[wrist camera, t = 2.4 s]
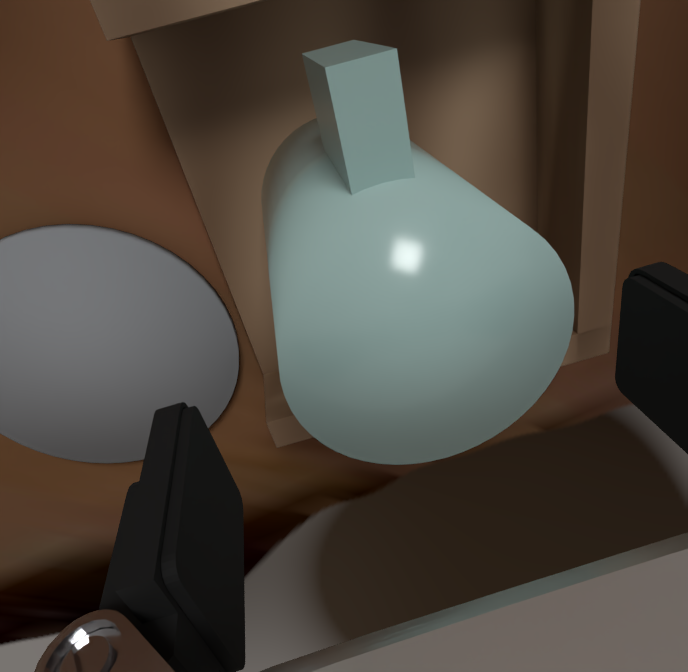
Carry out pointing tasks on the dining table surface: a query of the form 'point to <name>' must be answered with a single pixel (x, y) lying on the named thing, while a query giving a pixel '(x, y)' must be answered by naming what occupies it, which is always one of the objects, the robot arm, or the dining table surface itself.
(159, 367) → the mat
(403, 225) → the jug
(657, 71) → the dining table surface
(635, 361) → the robot arm
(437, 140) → the holder
